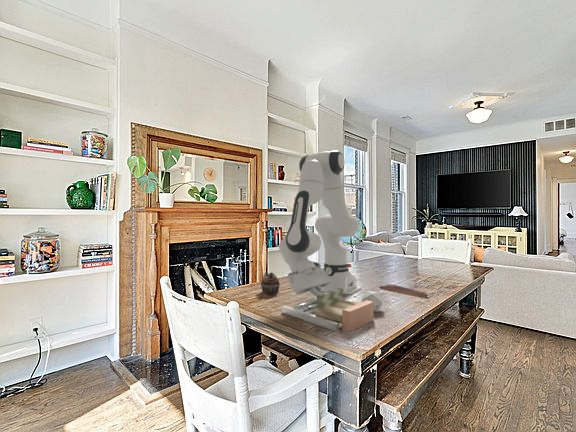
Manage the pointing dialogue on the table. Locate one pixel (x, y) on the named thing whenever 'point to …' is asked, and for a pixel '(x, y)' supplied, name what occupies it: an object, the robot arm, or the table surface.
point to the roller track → (311, 315)
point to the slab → (332, 304)
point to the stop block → (357, 315)
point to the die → (373, 299)
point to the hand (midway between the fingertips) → (321, 297)
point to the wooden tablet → (404, 290)
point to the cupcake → (270, 284)
